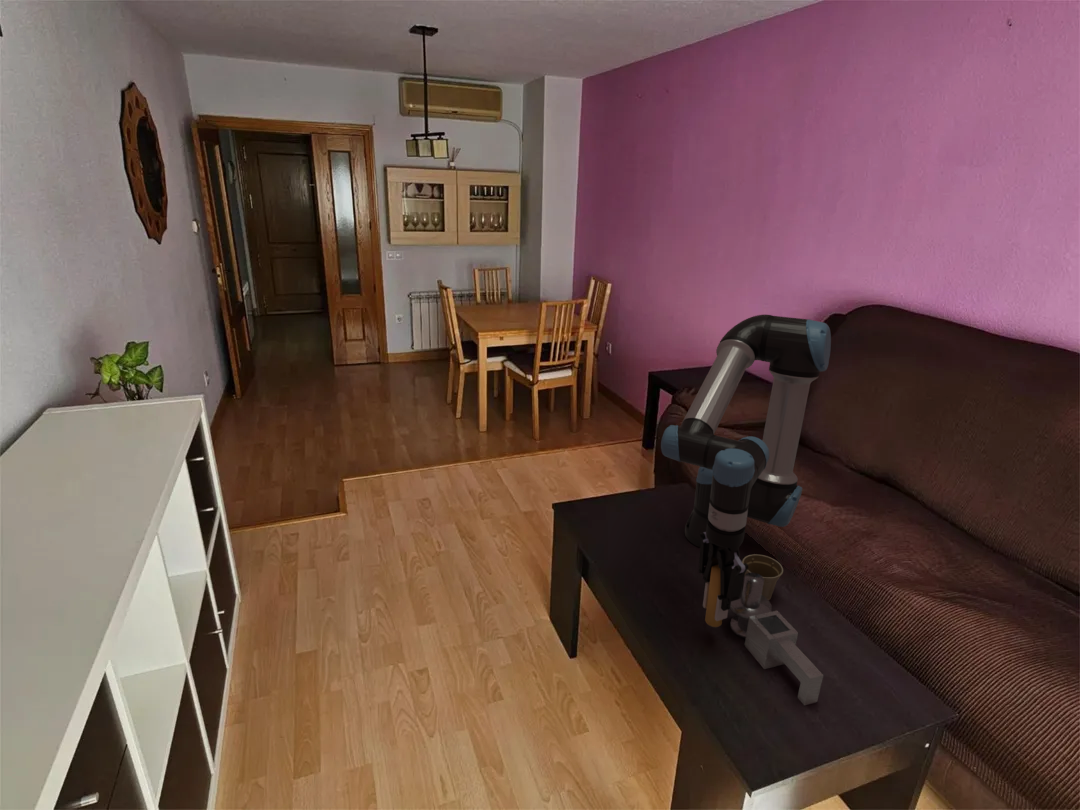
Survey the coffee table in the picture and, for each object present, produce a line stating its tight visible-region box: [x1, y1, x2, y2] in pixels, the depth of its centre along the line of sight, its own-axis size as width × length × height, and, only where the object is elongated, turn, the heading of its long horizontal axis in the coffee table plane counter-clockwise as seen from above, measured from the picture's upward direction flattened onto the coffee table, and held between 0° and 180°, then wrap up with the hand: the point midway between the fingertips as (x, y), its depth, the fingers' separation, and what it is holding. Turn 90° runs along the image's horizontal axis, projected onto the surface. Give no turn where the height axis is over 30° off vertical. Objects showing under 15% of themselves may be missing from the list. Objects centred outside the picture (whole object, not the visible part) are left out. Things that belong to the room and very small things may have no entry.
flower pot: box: [741, 553, 784, 601], centre depth 144 cm, size 9×9×9 cm
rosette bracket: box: [729, 572, 824, 706], centre depth 124 cm, size 26×9×14 cm, turn 16°
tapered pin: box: [704, 565, 723, 628], centre depth 127 cm, size 4×4×14 cm
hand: (714, 611), depth 129 cm, fingers closed on tapered pin, 3 cm apart
